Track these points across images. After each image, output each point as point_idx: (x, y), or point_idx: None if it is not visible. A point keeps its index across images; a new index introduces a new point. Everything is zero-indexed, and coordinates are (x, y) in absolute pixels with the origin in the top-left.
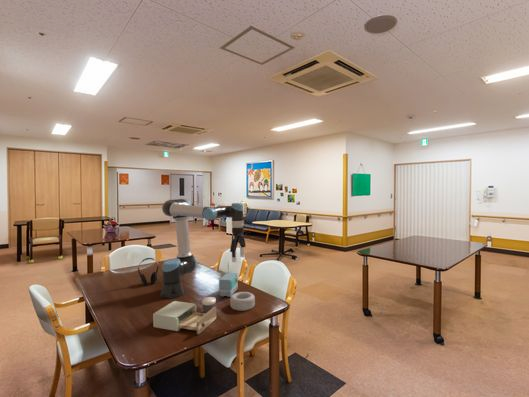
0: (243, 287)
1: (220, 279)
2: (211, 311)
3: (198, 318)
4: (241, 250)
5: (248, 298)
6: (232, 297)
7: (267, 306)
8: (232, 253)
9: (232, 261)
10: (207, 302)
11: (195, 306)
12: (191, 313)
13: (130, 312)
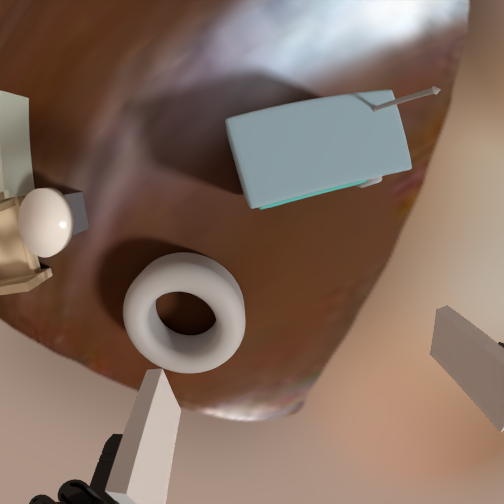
0: (394, 183)
1: (230, 127)
2: (8, 293)
3: (10, 233)
4: (487, 375)
5: (166, 366)
6: (135, 295)
7: (233, 384)
8: (96, 484)
9: (147, 381)
10: (22, 239)
11: (6, 198)
12: None
13: (15, 2)
